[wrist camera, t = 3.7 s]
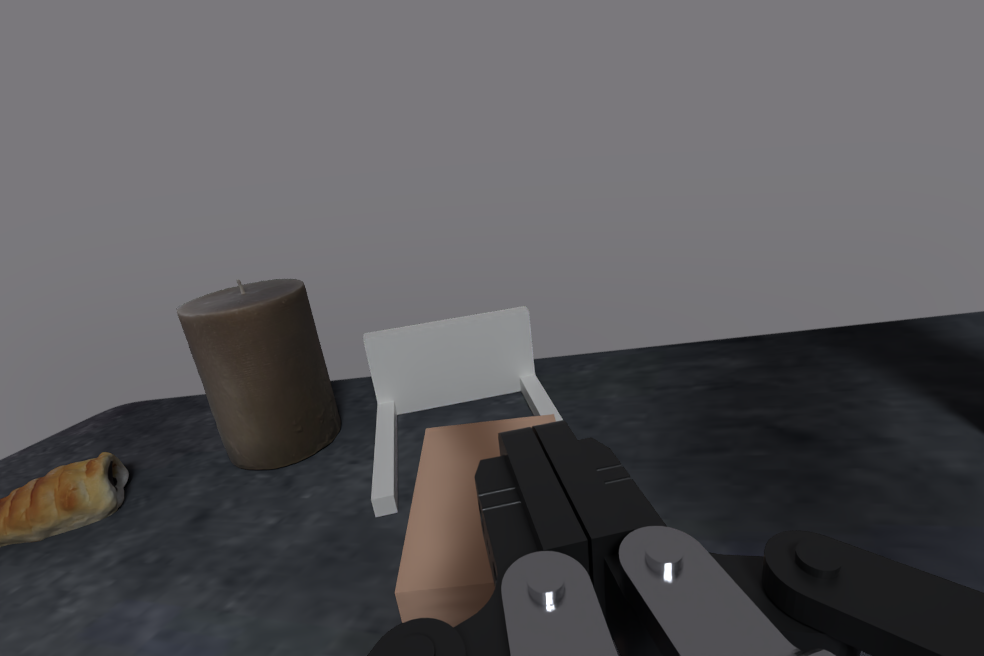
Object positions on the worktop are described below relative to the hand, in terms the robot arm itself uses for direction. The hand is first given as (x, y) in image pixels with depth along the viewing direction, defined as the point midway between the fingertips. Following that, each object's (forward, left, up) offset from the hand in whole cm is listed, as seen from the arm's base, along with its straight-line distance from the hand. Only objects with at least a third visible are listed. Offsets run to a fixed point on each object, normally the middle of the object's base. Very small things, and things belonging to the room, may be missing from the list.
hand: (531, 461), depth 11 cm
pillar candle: (+16, -33, -17) cm, 40 cm away
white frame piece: (0, -26, -16) cm, 31 cm away
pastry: (+31, -28, -17) cm, 45 cm away
